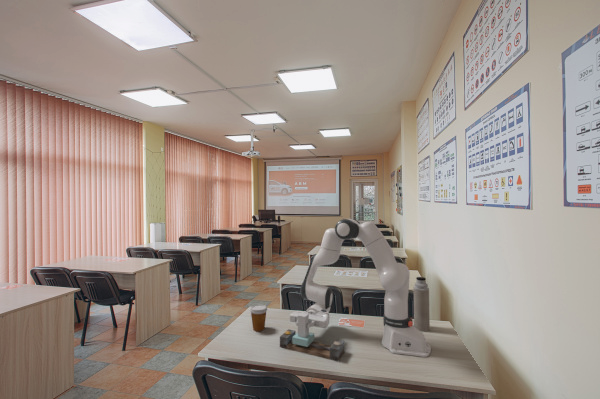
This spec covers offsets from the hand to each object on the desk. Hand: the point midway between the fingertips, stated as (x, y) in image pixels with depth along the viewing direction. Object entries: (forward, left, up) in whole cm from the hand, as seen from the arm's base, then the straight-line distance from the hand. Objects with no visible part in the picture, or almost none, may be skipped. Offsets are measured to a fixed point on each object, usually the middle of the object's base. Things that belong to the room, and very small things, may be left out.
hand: (302, 325), depth 139 cm
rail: (-4, -1, -11) cm, 12 cm away
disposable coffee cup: (+32, -9, -11) cm, 35 cm away
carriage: (0, -1, -8) cm, 8 cm away
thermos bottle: (-50, -48, -11) cm, 70 cm away
